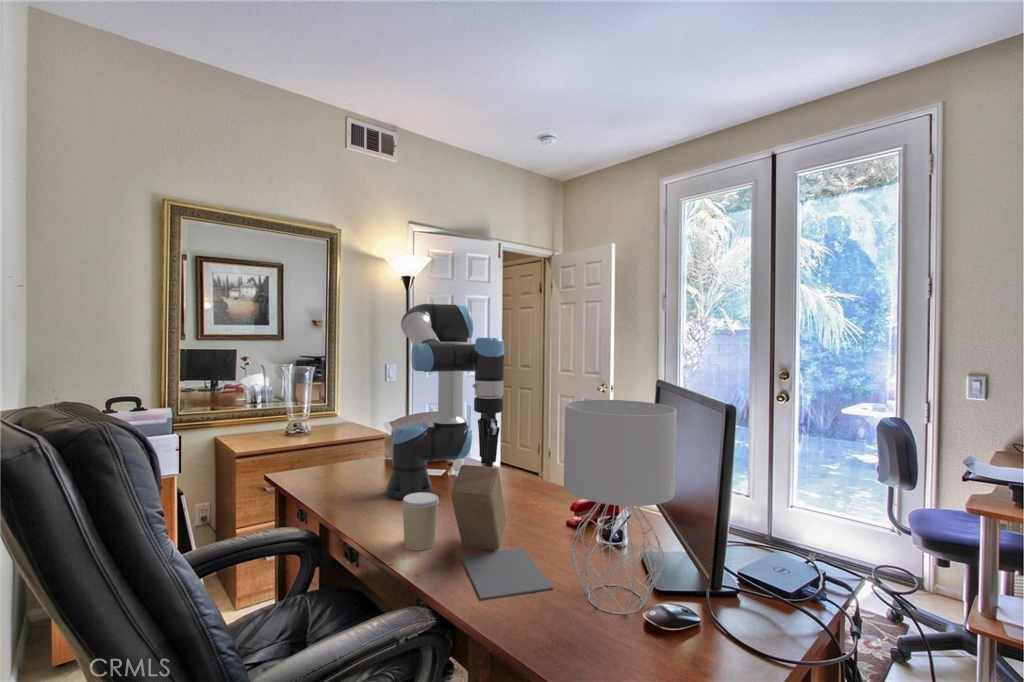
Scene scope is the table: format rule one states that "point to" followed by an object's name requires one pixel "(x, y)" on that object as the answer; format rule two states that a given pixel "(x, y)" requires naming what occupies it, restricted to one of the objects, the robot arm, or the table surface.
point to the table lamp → (619, 469)
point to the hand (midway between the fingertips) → (486, 486)
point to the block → (479, 506)
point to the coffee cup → (420, 520)
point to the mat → (504, 573)
